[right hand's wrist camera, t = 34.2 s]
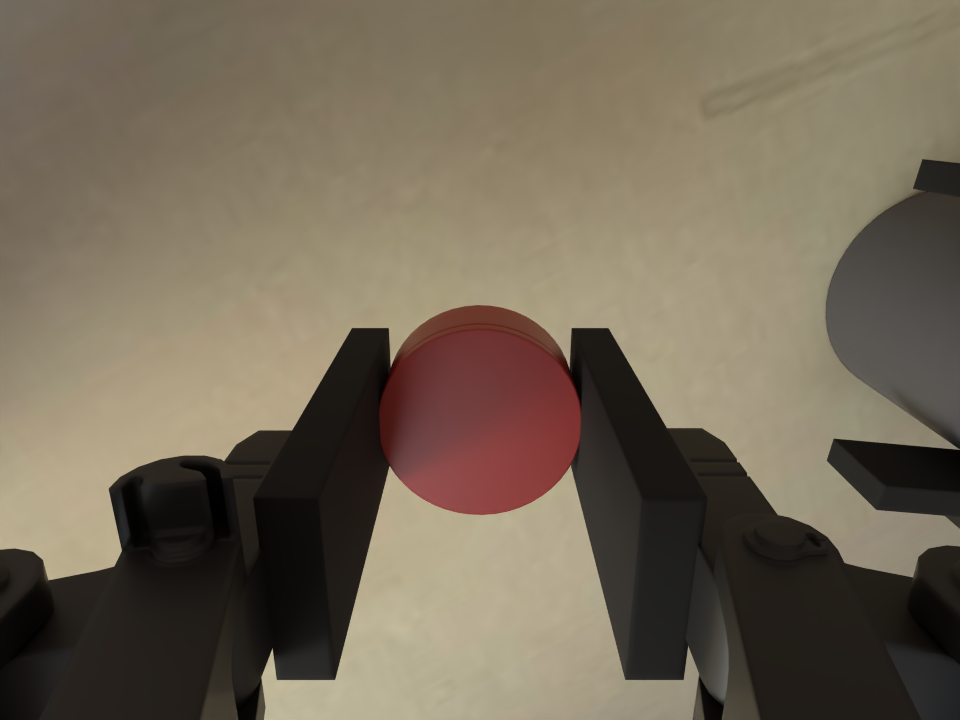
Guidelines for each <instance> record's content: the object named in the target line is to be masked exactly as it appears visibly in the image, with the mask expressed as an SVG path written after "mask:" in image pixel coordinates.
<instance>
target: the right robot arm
mask: <svg viewBox="0 0 960 720" xmlns="http://www.w3.org/2000/svg"><path fill="white" fill-rule="evenodd" d="M390 369H391V365H390V344H389V328H352V329H351V331H350V333H349V334H348V336H347V338H346V340H345V341H344V343H343V345H342V346H341V348H340V350H339V352H338V353H337V355H336V357H335V358H334V360H333V362H332V364H331V365H330V367H329V369H328V370H327V372H326V374H325V375H324V377H323V379H322V381H321V382H320V384H319V386H318V387H317V389H316V391H315V393H314V394H313V396H312V398H311V399H310V401H309V403H308V405H307V406H306V408H305V410H304V411H303V413H302V415H301V417H300V418H299V420H298V422H297V423H296V425H295V427H294V428H293V430H292V431H257V432H256V433H254V434H253V435H251V436H250V437H248V438H246V439H245V440H243V441H242V442H240V443H238V444H237V445H236V446H235V447H234V449H233V450H232V451H231V453H230V454H229V455H228V457H227V458H226V460H225V461H223V460H221V459H217V458H212V457H208V456H179V457H173V458H167V459H161V460H158V461H155V462H152V463H149V464H146V465H143V466H140V467H138V468H136V469H134V470H132V471H130V472H128V473H127V474H125V475H123V476H121V477H120V478H119V479H118V480H117V481H116V482H115V483H114V484H113V485H112V486H111V487H110V488H109V492H110V497H111V502H112V506H113V511H114V516H115V520H116V525H117V530H118V534H119V539H120V543H121V548H122V552H121V554H120V556H119V558H118V560H117V562H116V564H115V566H114V567H111V568H107V569H103V570H100V571H95V572H90V573H85V574H80V575H74V576H69V577H64V578H59V579H54V580H49V581H48V578H47V574H46V570H45V566H44V563H43V560H42V559H41V558H40V557H38V556H37V555H36V554H35V553H34V552H31V551H25V550H20V549H4V550H0V720H264V714H265V701H264V693H263V686H262V679H261V677H262V674H263V671H264V669H265V666H266V664H267V661H268V658H269V656H270V653H271V651H272V648H273V654H274V661H275V669H276V677H277V680H335V678H336V674H337V670H338V666H339V662H340V659H341V655H342V651H343V647H344V643H345V639H346V635H347V631H348V627H349V623H350V619H351V615H352V611H353V607H354V603H355V599H356V596H357V592H358V588H359V584H360V580H361V576H362V572H363V568H364V564H365V560H366V556H367V552H368V548H369V544H370V540H371V536H372V532H373V529H374V525H375V521H376V517H377V513H378V509H379V505H380V501H381V497H382V493H383V489H384V485H385V481H386V477H387V473H388V469H389V466H390V465H389V464H388V462H387V459H386V457H385V455H384V453H383V450H382V447H381V437H380V419H379V403H380V399H381V396H382V392H383V389H384V387H385V383H386V381H387V378H388V375H389V372H390ZM570 372H571V375H572V378H573V381H574V384H575V387H576V390H577V393H578V396H579V399H580V403H581V428H580V443H579V448H578V450H577V453H576V455H575V458H574V460H573V461H572V463H571V468H572V472H573V476H574V479H575V483H576V487H577V491H578V495H579V499H580V503H581V507H582V511H583V515H584V519H585V523H586V527H587V531H588V535H589V539H590V542H591V546H592V550H593V554H594V558H595V562H596V566H597V570H598V574H599V578H600V582H601V586H602V590H603V594H604V598H605V602H606V605H607V609H608V613H609V617H610V621H611V625H612V629H613V633H614V637H615V641H616V645H617V649H618V653H619V657H620V661H621V665H622V668H623V672H624V676H625V680H684V673H685V665H686V658H687V650H688V646H689V648H690V651H691V654H692V656H693V659H694V661H695V664H696V666H697V669H698V672H699V679H698V686H697V693H696V700H695V707H694V714H693V720H960V547H959V546H941V547H935V548H930V549H928V550H926V551H925V552H924V553H923V554H922V555H920V556H919V557H918V561H917V565H916V569H915V572H914V576H913V578H912V577H907V576H902V575H897V574H892V573H887V572H881V571H876V570H871V569H866V568H861V567H857V566H854V565H850V564H846V563H844V561H843V559H842V557H841V555H840V553H839V551H838V550H837V548H836V547H835V546H834V545H833V543H832V542H831V541H830V540H829V539H828V537H826V536H825V535H823V534H822V533H820V532H819V531H817V530H816V529H814V528H813V527H811V526H809V525H807V524H804V523H802V522H799V521H797V520H794V519H792V518H789V517H784V516H779V515H777V513H776V512H775V511H774V509H773V508H772V506H771V505H770V504H769V502H768V501H767V500H766V498H765V497H764V496H763V494H762V493H761V491H760V490H759V489H758V487H757V486H756V485H755V483H754V482H753V481H752V479H751V478H750V477H747V472H746V471H745V470H744V468H743V467H742V466H741V464H740V463H739V462H737V459H736V457H735V456H734V455H733V453H732V452H731V451H730V449H729V448H728V446H727V445H726V444H725V442H723V441H721V440H720V439H718V438H717V437H715V436H713V435H712V434H710V433H708V432H707V431H705V430H704V429H702V428H666V426H665V424H664V422H663V421H662V419H661V417H660V416H659V414H658V412H657V411H656V409H655V407H654V405H653V404H652V402H651V400H650V399H649V397H648V395H647V393H646V392H645V390H644V388H643V387H642V385H641V383H640V381H639V380H638V378H637V376H636V375H635V373H634V371H633V370H632V368H631V366H630V364H629V363H628V361H627V359H626V358H625V356H624V354H623V352H622V351H621V349H620V347H619V346H618V344H617V342H616V340H615V339H614V337H613V335H612V334H611V332H610V330H609V328H572V334H571V354H570Z"/></svg>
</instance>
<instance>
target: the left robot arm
mask: <svg viewBox="0 0 960 720" xmlns="http://www.w3.org/2000/svg"><path fill="white" fill-rule="evenodd" d="M913 189H918V190H923V191H928V192H934V193H939V194H945V195H950V196H956V197H960V163H951V162H942V161H933V160H924V159H922V162H921V166H920V169H919V172H918V175H917V178H916V181H915V184H914V188H913ZM827 461H828V462H829V463H830V464H831V465H832V466H833V467H834V468H835V469H836V470H837V471H838V472H839V473H840V474H841V475H842V476H843V477H844V478H845V479H846V480H847V481H848V482H849V483H850V484H851V485H852V486H853V487H854V488H855V489H856V490H857V491H858V492H859V493H860V494H861V495H862V496H863V497H864V498H865V499H866V500H867V501H868V502H869V503H870V504H871V505H872V506H873V507H874V508H875V509H876V510H885V511H897V512H908V513H920V514H932V515H944V516H946V517H947V518H948V519H949V520H950V521H952V522H953V523H954V524H955V525H956V526H957V527H959V528H960V450H954V449H943V448H931V447H920V446H909V445H898V444H887V443H875V442H864V441H853V440H842V439H834V440H833V443H832V446H831V449H830V452H829V455H828V459H827Z"/></svg>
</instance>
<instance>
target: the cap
mask: <svg viewBox="0 0 960 720" xmlns="http://www.w3.org/2000/svg"><path fill="white" fill-rule="evenodd" d="M379 419H380V437H381V447H382V450H383V453H384V455H385V457H386V459H387V462H388V464H389V465H390V467H391V468H392V470H393V471H394V473H395V474H396V475H397V477H398V478H399V479H400V480H401V481H402V482H403V484H405V485H406V486H407V487H408V488H409V489H410V490H411V491H412V492H414V493H415V494H417V495H418V496H419V497H421V498H422V499H424V500H426V501H428V502H430V503H431V504H433V505H436V506H438V507H441V508H443V509H446V510H450V511H454V512H458V513H465V514H476V515H485V514H496V513H501V512H507V511H510V510H513V509H516V508H520V507H522V506H524V505H526V504H529V503H531V502H533V501H534V500H536V499H538V498H539V497H541V496H542V495H544V494H545V493H546V492H547V491H549V490H550V489H551V488H552V487H553V486H554V485H555V484H556V483H557V482H558V481H559V480H560V479H561V478H562V477H563V475H564V474H565V473H566V471H567V470H568V468H569V467H570V465H571V463H572V461H573V460H574V458H575V455H576V453H577V450H578V448H579V443H580V428H581V403H580V399H579V396H578V393H577V390H576V387H575V384H574V381H573V378H572V375H571V372H570V370H569V367H568V364H567V361H566V358H565V356H564V355H563V353H562V351H561V349H560V347H559V346H558V344H557V343H556V342H555V340H554V339H553V338H552V337H551V336H550V335H549V334H548V333H547V331H546V330H544V329H543V328H542V327H541V326H539V325H538V324H537V323H536V322H534V321H532V320H531V319H529V318H527V317H526V316H524V315H521V314H519V313H517V312H515V311H511V310H508V309H505V308H500V307H494V306H482V305H476V306H465V307H460V308H456V309H452V310H449V311H446V312H443V313H441V314H439V315H437V316H435V317H433V318H431V319H429V320H428V321H426V322H425V323H423V324H422V325H420V326H419V327H418V328H417V329H416V330H415V331H414V332H413V333H411V334H410V336H409V337H408V338H407V339H406V340H405V342H404V343H403V344H402V346H401V348H400V349H399V351H398V352H397V354H396V357H395V359H394V361H393V363H392V366H391V369H390V372H389V375H388V378H387V381H386V383H385V387H384V389H383V392H382V396H381V399H380V403H379Z"/></svg>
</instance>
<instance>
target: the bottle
mask: <svg viewBox="0 0 960 720" xmlns="http://www.w3.org/2000/svg"><path fill="white" fill-rule="evenodd" d="M826 324H827V331H828V335H829V339H830V342H831V344H832V347H833V349H834V351H835V353H836V355H837V356H838V358H839V359H840V361H841V362H842V364H843V365H844V366H845V367H846V368H847V369H848V370H849V371H850V372H851V373H852V374H854V375H855V376H856V377H857V378H859V379H860V380H861V381H863V382H864V383H866V384H867V385H869V386H870V387H871V388H873V389H874V390H876V391H877V392H879V393H880V394H881V395H883V396H884V397H886V398H887V399H889V400H890V401H891V402H893V403H894V404H896V405H897V406H899V407H900V408H902V409H903V410H904V411H906V412H907V413H909V414H910V415H912V416H913V417H914V418H916V419H917V420H919V421H920V422H922V423H923V424H924V425H926V426H927V427H929V428H930V429H932V430H933V431H934V432H936V433H937V434H939V435H940V436H942V437H943V438H944V439H946V440H947V441H949V442H950V443H952V444H953V445H954V446H956V447H957V448H959V449H960V197H956V196H950V195H945V194H939V193H934V192H926V193H922V194H919V195H916V196H914V197H911V198H909V199H906V200H904V201H902V202H901V203H899V204H897V205H895V206H893V207H891V208H890V209H888V210H887V211H885V212H884V213H883V214H881V215H880V216H878V217H877V218H876V219H875V220H873V221H872V222H871V223H870V224H869V225H868V226H867V227H865V229H864V230H863V231H862V232H861V233H860V234H859V235H858V236H857V237H856V238H855V239H854V241H853V242H852V243H851V245H850V246H849V247H848V249H847V250H846V252H845V253H844V255H843V257H842V258H841V260H840V262H839V264H838V266H837V268H836V270H835V273H834V275H833V277H832V280H831V284H830V287H829V290H828V296H827V302H826Z"/></svg>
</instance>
